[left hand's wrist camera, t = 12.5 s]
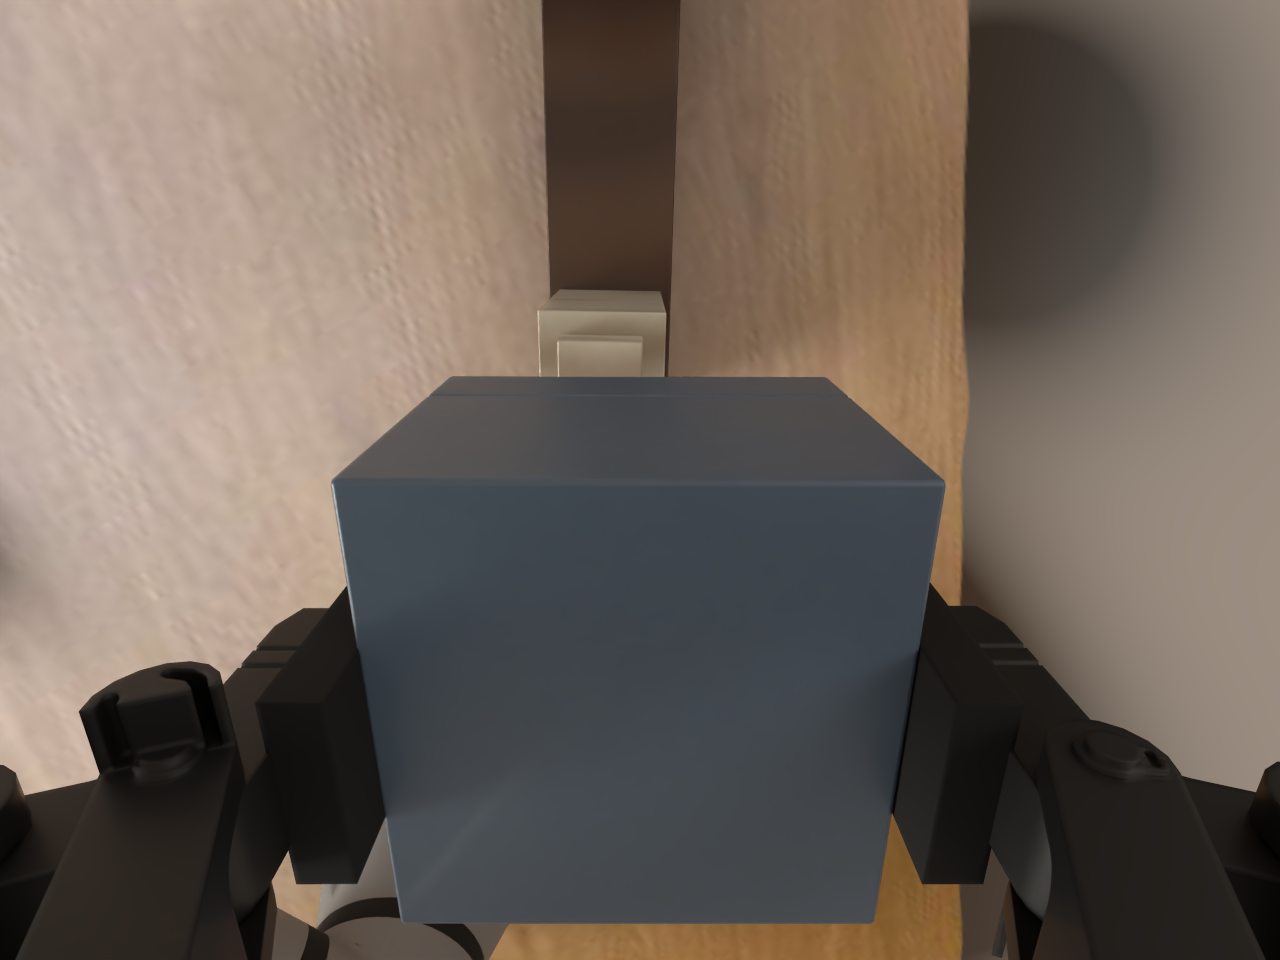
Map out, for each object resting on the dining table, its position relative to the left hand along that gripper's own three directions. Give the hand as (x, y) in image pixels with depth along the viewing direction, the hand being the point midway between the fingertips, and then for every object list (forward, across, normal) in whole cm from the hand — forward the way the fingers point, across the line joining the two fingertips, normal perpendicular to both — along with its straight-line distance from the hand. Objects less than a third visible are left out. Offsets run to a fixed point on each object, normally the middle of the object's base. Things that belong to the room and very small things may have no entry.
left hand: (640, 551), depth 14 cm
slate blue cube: (0, 0, 0) cm, 0 cm away
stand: (+29, +1, -9) cm, 31 cm away
